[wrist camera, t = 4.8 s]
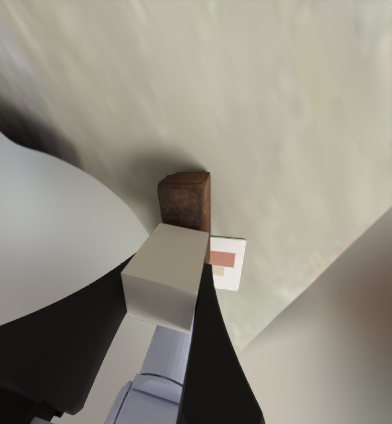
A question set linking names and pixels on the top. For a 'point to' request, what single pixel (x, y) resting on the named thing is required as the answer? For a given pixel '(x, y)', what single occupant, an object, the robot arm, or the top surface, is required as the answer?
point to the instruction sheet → (226, 261)
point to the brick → (187, 202)
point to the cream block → (166, 277)
